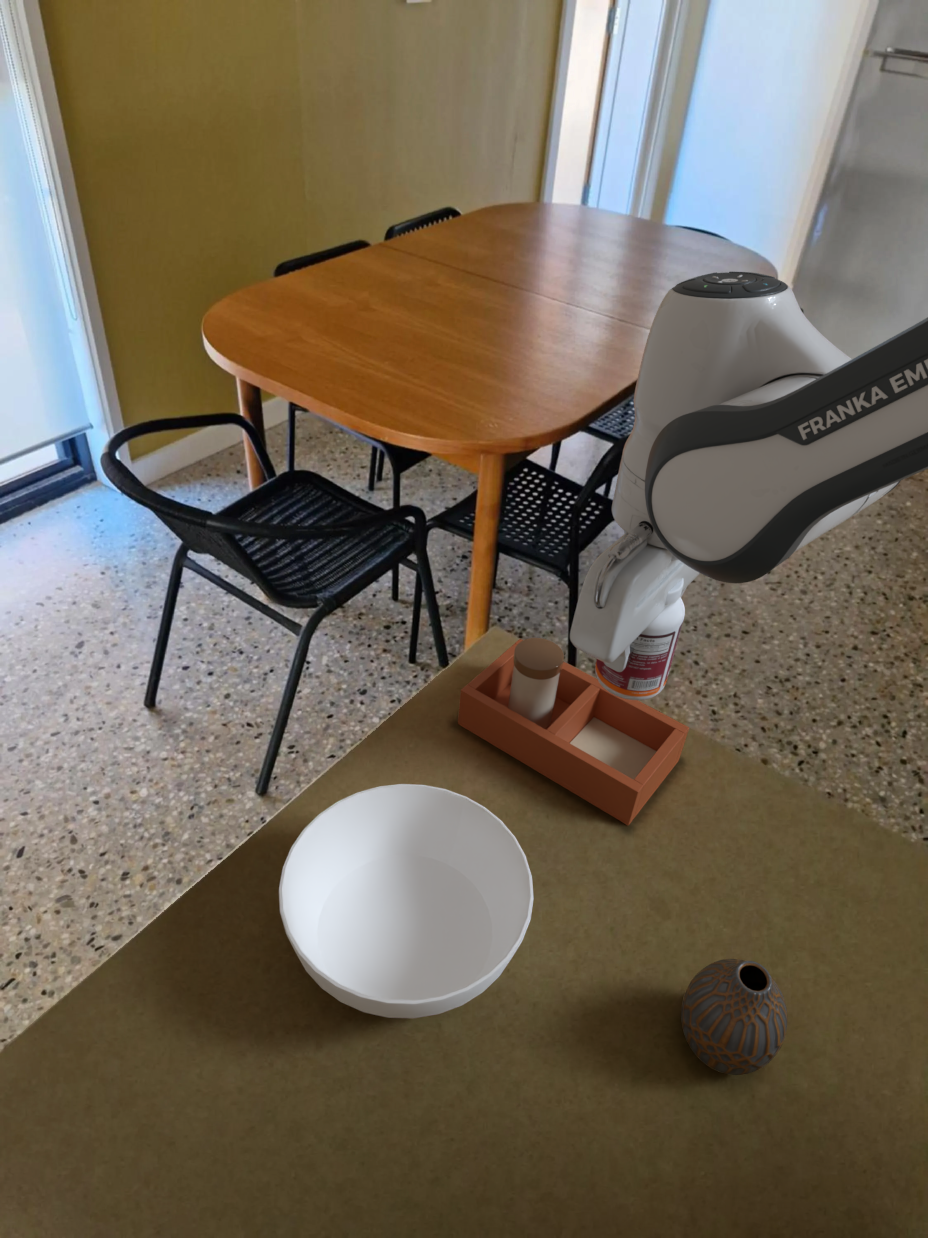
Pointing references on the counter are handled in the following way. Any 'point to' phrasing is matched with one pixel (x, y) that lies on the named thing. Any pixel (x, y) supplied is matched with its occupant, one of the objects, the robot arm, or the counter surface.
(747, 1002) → the vase
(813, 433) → the robot arm
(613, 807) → the divided tray
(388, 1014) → the bowl
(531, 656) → the spice jar
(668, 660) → the pill bottle
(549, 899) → the counter surface
